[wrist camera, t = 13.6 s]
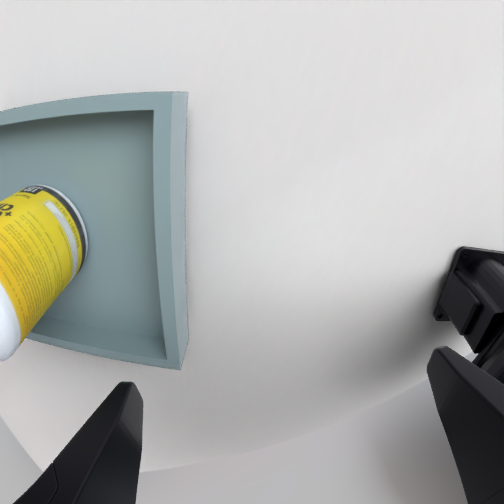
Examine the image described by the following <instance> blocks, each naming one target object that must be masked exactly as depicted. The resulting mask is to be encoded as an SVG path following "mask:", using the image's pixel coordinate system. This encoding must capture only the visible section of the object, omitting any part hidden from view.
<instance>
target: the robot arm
mask: <svg viewBox="0 0 504 504" xmlns="http://www.w3.org/2000/svg"><path fill="white" fill-rule="evenodd" d="M464 252H465V253H464ZM463 253H464V255H462V254H463ZM439 314H440V315H439ZM433 316H434V318H435V320H436V321H452V323H453V324H454V326H455V327H456V329H457V330H458V332H459V334H460V335H463V336H464V338H465V339H466V341H467V342H468V344H469V346H470V347H471V349H472V351H473V352H474V353H475V354H476V353H479V354H478V355H477V356H476V358H475V359H474V360H473V361H472V363H471V362H470V361H468V360H467V359H465V358H464V357H463V356H461V355H460V354H458V353H457V352H455V351H454V350H452V349H451V348H449V347H447V346H442V347H438V348H435V349H434V351H433V353H432V355H431V358H430V360H429V362H428V365H427V374H428V377H429V381H430V384H431V388H432V391H433V395H434V399H435V403H436V406H437V410H438V413H439V416H440V419H441V421H442V424H443V427H444V429H445V432H446V435H447V438H448V441H449V444H450V446H451V449H452V453H453V455H454V459H455V462H456V465H457V468H458V471H459V474H460V477H461V481H462V484H463V488H464V491H465V495H466V498H467V502H468V504H504V252H502V251H495V250H488V249H480V248H473V247H465V246H463V247H461V248H459V250H458V251H457V254H456V257H455V260H454V263H453V266H452V268H451V271H450V274H449V276H448V279H447V282H446V284H445V287H444V289H443V292H442V294H441V297H440V299H439V302H438V304H437V306H436V309H435V311H434V314H433ZM142 427H143V400H142V397H141V395H140V393H139V391H138V389H137V387H136V385H135V384H134V383H133V382H120V383H119V384H118V385H117V386H116V387H115V388H114V389H113V391H112V392H111V393H110V394H109V395H108V397H107V398H106V399H105V400H104V401H103V402H102V404H101V405H100V406H99V407H98V408H97V410H96V411H95V412H94V413H93V414H92V415H91V417H90V418H89V419H88V420H87V421H86V423H85V424H84V425H83V426H82V427H81V428H80V430H79V431H78V432H77V433H76V434H75V436H74V437H73V438H72V439H71V440H70V442H69V443H68V444H67V445H66V446H65V448H64V449H63V450H62V451H61V452H60V454H59V455H58V456H57V457H56V458H55V460H54V461H53V463H51V464H50V465H49V467H48V468H47V469H46V470H45V471H44V473H43V474H42V475H41V476H40V477H39V478H38V480H37V481H36V482H35V483H34V484H33V485H32V486H31V487H30V488H29V489H28V490H27V491H26V492H25V493H24V494H23V495H22V496H21V497H20V498H18V499H17V500H16V501H15V502H14V503H13V504H135V502H136V493H137V484H138V475H139V468H140V461H141V453H142Z"/></svg>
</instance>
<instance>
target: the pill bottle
mask: <svg viewBox="0 0 504 504" xmlns="http://www.w3.org/2000/svg"><path fill="white" fill-rule="evenodd" d="M87 250H88V240H87V233H86V229H85V225H84V223H83V220H82V218H81V216H80V214H79V212H78V210H77V209H76V207H75V206H74V204H73V203H72V202H71V201H70V200H69V199H68V198H67V197H66V196H65V195H64V194H63V193H61V192H60V191H58V190H56V189H55V188H52V187H49V186H46V185H32V186H28V187H26V188H23V189H22V190H20V191H18V192H16V193H14V194H13V195H11V196H9V197H7V198H5V199H4V200H2V201H0V361H3V360H6V359H7V358H9V357H10V356H11V355H12V354H13V353H14V352H15V351H16V350H17V348H18V347H19V346H20V344H21V343H22V342H23V340H24V339H25V338H26V336H27V335H28V334H29V332H30V331H31V330H32V329H33V327H34V326H35V325H36V323H37V322H38V321H39V320H40V318H41V317H42V316H43V315H44V313H45V312H46V311H47V310H48V308H49V307H50V306H51V305H52V303H53V302H54V301H55V300H56V298H57V297H58V296H59V295H60V293H61V292H62V291H63V290H64V289H65V287H66V286H67V285H68V284H69V283H70V282H71V280H72V279H73V278H74V277H75V276H76V275H77V274H78V272H79V271H80V270H81V268H82V266H83V264H84V262H85V259H86V256H87Z"/></svg>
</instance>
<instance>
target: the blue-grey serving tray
mask: <svg viewBox="0 0 504 504" xmlns="http://www.w3.org/2000/svg"><path fill="white" fill-rule="evenodd" d="M187 104H188V92H140V93H123V94H110V95H99V96H89V97H80V98H72V99H65V100H58V101H51V102H45V103H39V104H34V105H28V106H23V107H18V108H13V109H9V110H4V111H0V201H2V200H4V199H5V198H7V197H9V196H11V195H13V194H14V193H16V192H18V191H20V190H22V189H23V188H26V187H28V186H32V185H46V186H49V187H52V188H55V189H56V190H58V191H60V192H61V193H63V194H64V195H65V196H66V197H67V198H68V199H69V200H70V201H71V202H72V203H73V204H74V206H75V207H76V209H77V210H78V212H79V214H80V216H81V218H82V220H83V223H84V225H85V229H86V233H87V240H88V250H87V256H86V259H85V262H84V264H83V266H82V268H81V270H80V271H79V272H78V274H77V275H76V276H75V277H74V278H73V279H72V280H71V282H70V283H69V284H68V285H67V286H66V287H65V289H64V290H63V291H62V292H61V293H60V295H59V296H58V297H57V298H56V300H55V301H54V302H53V303H52V305H51V306H50V307H49V308H48V310H47V311H46V312H45V313H44V315H43V316H42V317H41V318H40V320H39V321H38V322H37V323H36V325H35V326H34V327H33V329H32V330H31V331H30V332H29V334H28V335H27V336H26V338H28V339H32V340H35V341H39V342H42V343H46V344H50V345H54V346H58V347H62V348H66V349H70V350H74V351H78V352H82V353H87V354H91V355H96V356H101V357H106V358H111V359H116V360H121V361H126V362H132V363H137V364H143V365H149V366H156V367H162V368H169V369H176V370H181V366H182V363H183V359H184V355H185V351H186V348H187V344H188V340H189V334H188V316H187V293H186V261H185V158H186V127H187Z"/></svg>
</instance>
